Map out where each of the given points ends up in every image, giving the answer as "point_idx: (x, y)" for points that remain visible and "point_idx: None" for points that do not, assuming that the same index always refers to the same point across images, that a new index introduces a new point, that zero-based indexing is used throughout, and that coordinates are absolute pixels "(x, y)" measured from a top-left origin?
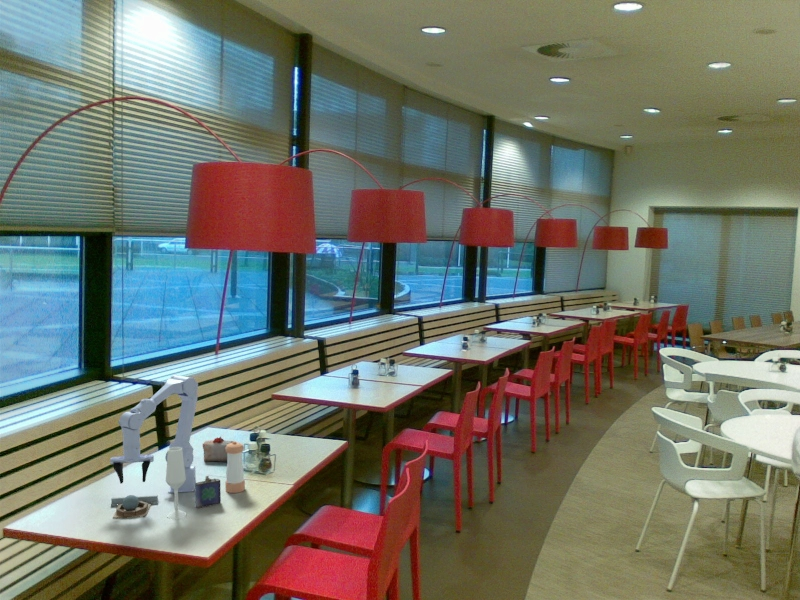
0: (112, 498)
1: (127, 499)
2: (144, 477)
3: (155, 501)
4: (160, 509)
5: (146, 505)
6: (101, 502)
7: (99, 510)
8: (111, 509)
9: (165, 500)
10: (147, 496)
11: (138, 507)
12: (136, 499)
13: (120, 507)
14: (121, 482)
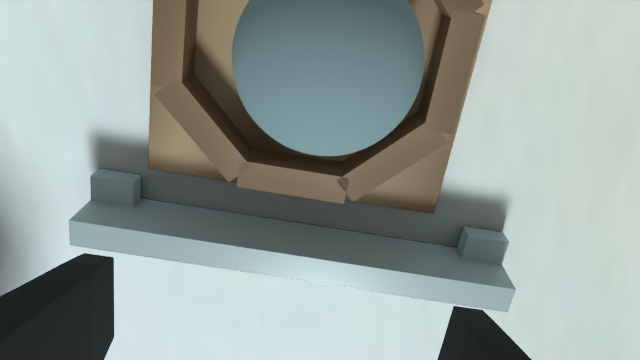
0: (504, 295)
1: (364, 6)
2: (22, 288)
3: (105, 185)
4: (39, 9)
5: (156, 25)
6: (567, 341)
7: (610, 174)
8: (504, 164)
9: (38, 224)
10: (167, 242)
11: None
12: (247, 25)
13: (435, 75)
14: (470, 316)
